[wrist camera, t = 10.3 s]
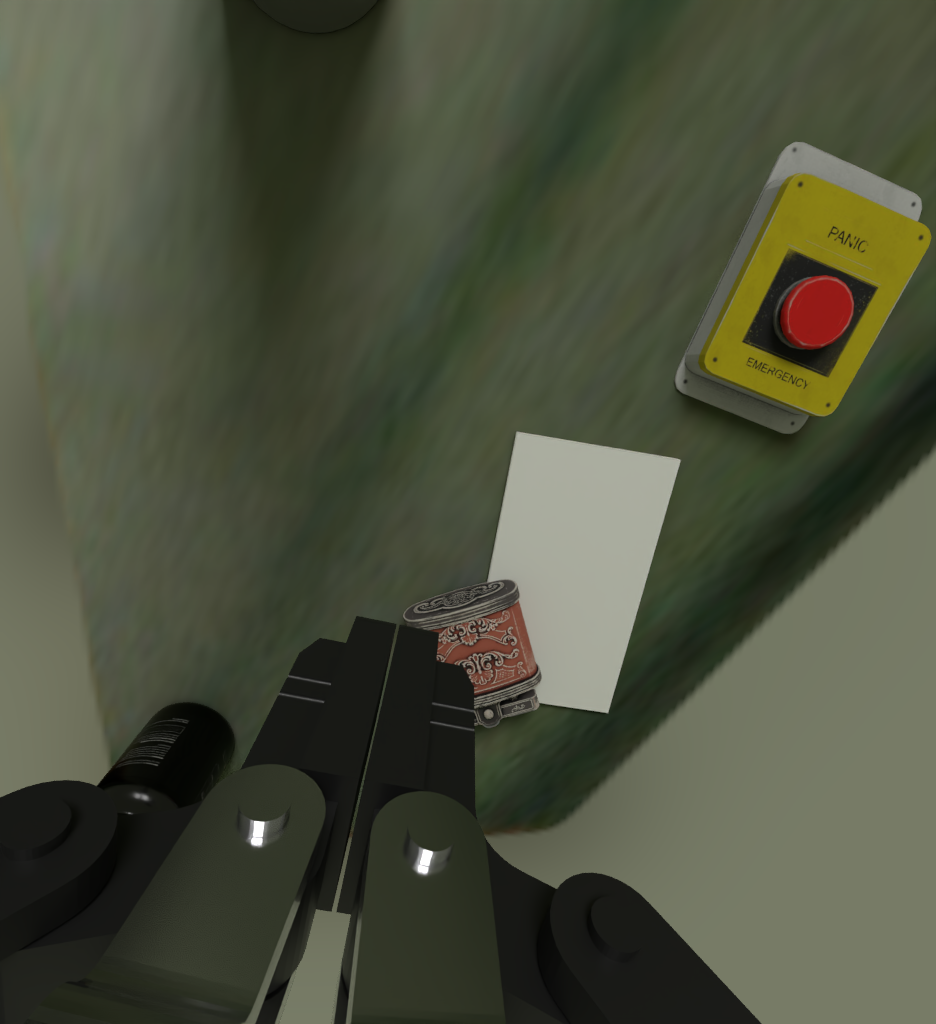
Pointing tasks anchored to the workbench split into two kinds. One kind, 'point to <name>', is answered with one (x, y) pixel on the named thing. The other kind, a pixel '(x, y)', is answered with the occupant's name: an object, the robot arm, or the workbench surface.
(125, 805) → the supplement bottle
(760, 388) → the emergency button
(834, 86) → the workbench surface
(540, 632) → the mat
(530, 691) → the lighter
